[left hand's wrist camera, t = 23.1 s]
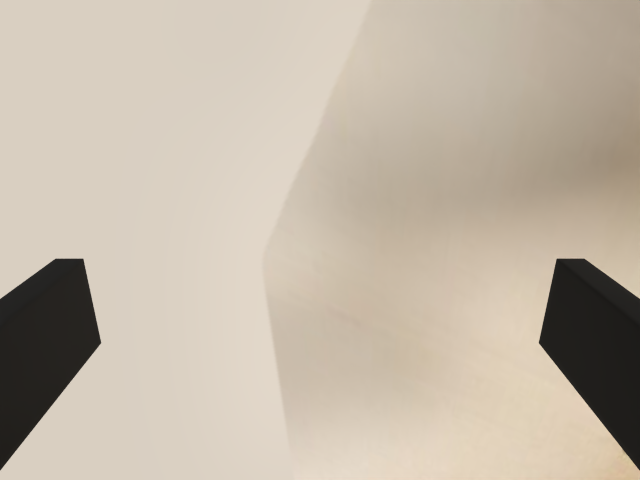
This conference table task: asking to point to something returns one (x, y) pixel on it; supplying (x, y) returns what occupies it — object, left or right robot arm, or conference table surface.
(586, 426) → the conference table surface
